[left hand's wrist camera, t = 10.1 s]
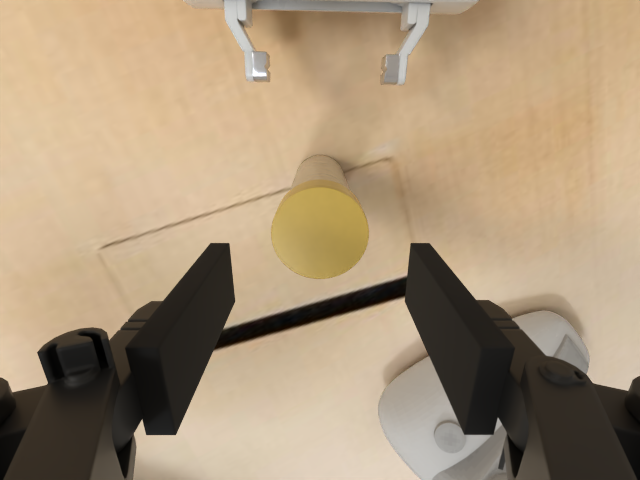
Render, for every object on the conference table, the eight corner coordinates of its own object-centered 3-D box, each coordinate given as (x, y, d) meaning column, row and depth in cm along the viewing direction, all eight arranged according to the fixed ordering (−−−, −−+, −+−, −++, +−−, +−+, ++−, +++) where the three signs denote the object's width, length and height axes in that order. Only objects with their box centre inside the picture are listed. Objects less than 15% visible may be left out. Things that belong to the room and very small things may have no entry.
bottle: (326, 144, 32) (331, 172, 18) (353, 186, 34) (378, 243, 19) (285, 173, 33) (259, 222, 19) (313, 212, 35) (309, 285, 20)
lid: (332, 160, 19) (333, 166, 17) (380, 233, 21) (387, 247, 19) (258, 212, 20) (251, 223, 18) (309, 277, 22) (308, 295, 20)
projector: (536, 447, 46) (628, 589, 32) (367, 444, 46) (387, 586, 32) (584, 305, 38) (732, 413, 25) (380, 301, 38) (414, 409, 24)
